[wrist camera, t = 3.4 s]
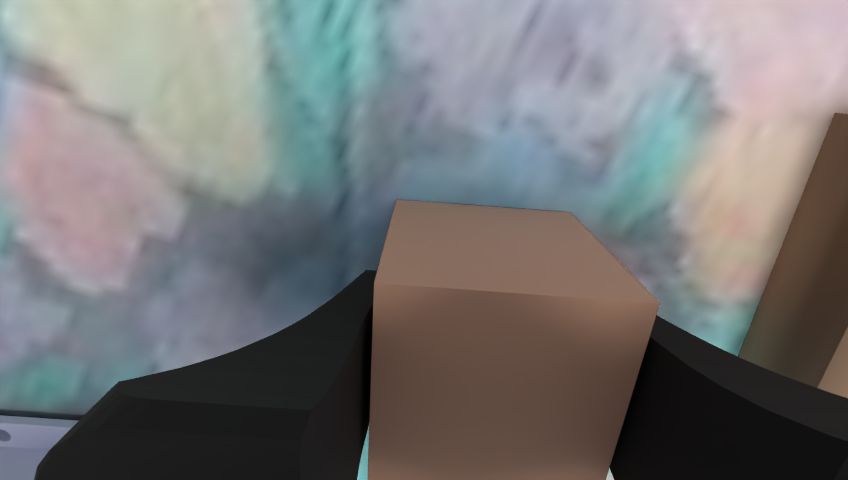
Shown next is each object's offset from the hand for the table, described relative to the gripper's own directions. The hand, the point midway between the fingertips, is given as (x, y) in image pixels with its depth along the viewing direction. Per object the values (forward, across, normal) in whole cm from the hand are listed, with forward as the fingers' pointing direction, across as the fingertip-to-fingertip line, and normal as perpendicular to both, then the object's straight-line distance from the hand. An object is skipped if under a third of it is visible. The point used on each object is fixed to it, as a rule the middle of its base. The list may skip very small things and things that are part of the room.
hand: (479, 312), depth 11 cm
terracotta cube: (+2, 0, 0) cm, 2 cm away
